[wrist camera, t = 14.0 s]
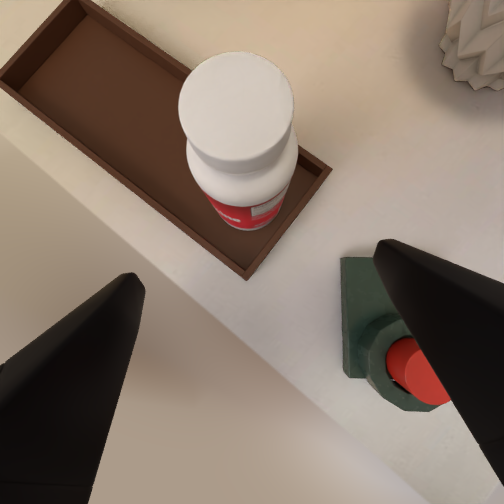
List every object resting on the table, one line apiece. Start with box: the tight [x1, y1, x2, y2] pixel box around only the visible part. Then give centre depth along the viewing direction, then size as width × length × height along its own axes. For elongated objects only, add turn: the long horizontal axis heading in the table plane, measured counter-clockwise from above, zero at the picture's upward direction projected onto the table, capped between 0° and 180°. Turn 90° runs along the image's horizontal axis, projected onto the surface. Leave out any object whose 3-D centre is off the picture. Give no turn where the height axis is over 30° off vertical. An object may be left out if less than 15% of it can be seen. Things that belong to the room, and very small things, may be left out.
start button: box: [386, 338, 451, 405], centre depth 14 cm, size 4×4×2 cm
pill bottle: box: [178, 51, 298, 231], centre depth 13 cm, size 6×6×11 cm
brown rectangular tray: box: [0, 0, 333, 281], centre depth 19 cm, size 31×12×2 cm, turn 52°
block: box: [340, 257, 442, 412], centre depth 17 cm, size 11×8×3 cm
